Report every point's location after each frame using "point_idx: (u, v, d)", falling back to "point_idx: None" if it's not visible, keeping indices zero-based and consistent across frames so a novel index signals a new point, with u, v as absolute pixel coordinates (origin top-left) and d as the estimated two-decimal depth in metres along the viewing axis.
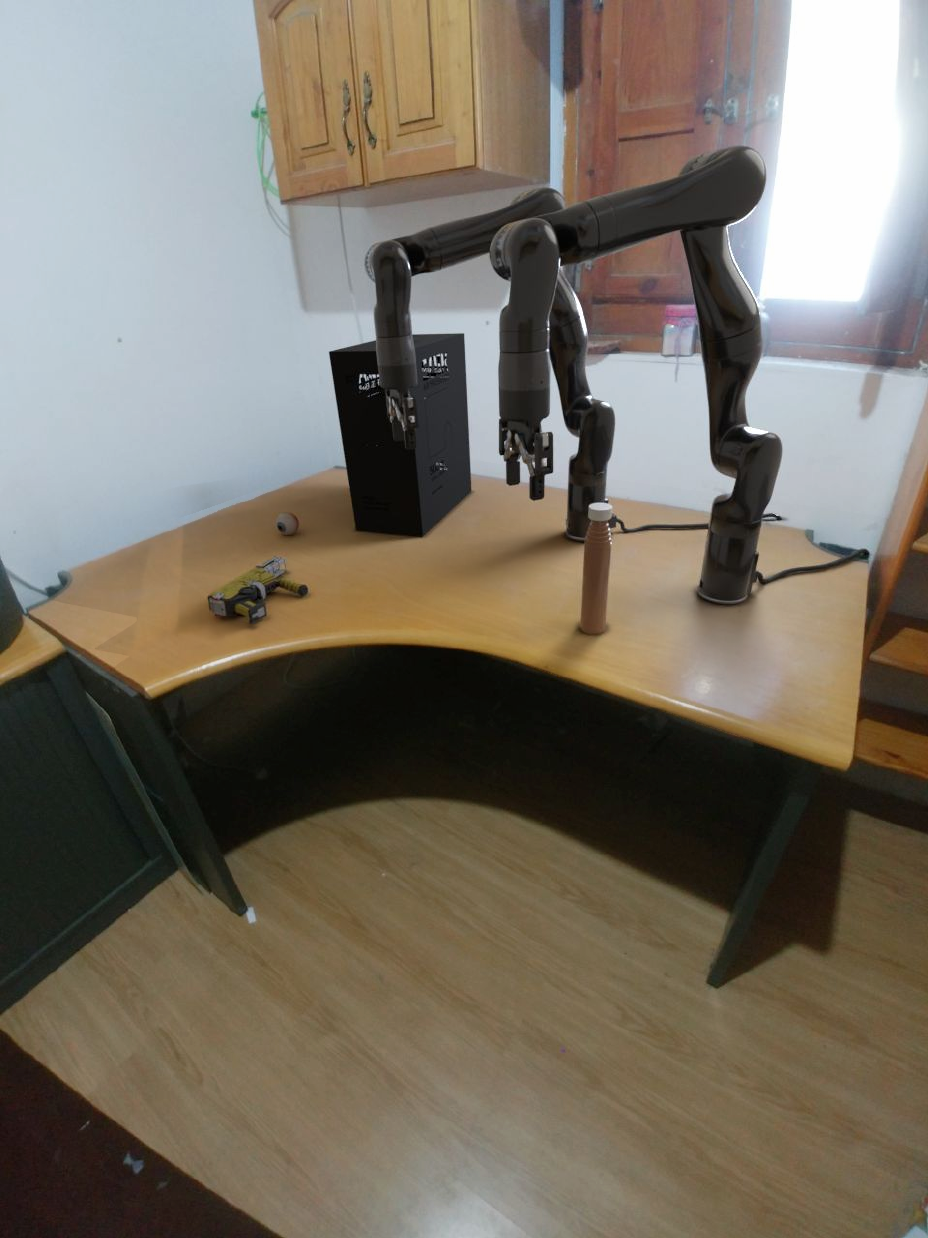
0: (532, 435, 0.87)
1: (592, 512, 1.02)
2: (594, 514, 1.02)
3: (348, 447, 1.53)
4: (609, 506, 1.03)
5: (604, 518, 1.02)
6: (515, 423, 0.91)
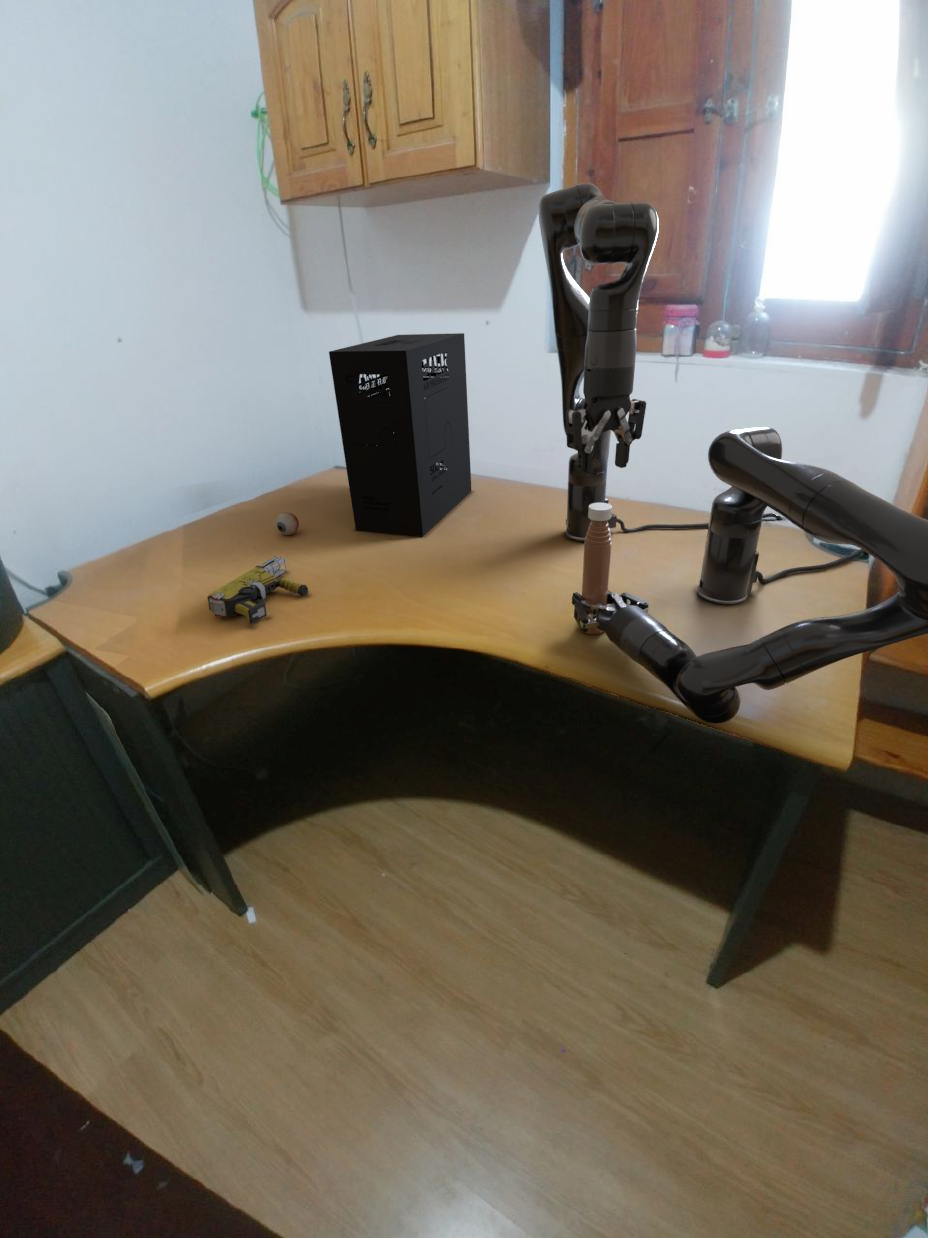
0: (596, 619, 1.04)
1: (592, 512, 1.02)
2: (594, 514, 1.02)
3: (348, 447, 1.53)
4: (609, 506, 1.03)
5: (604, 518, 1.02)
6: None
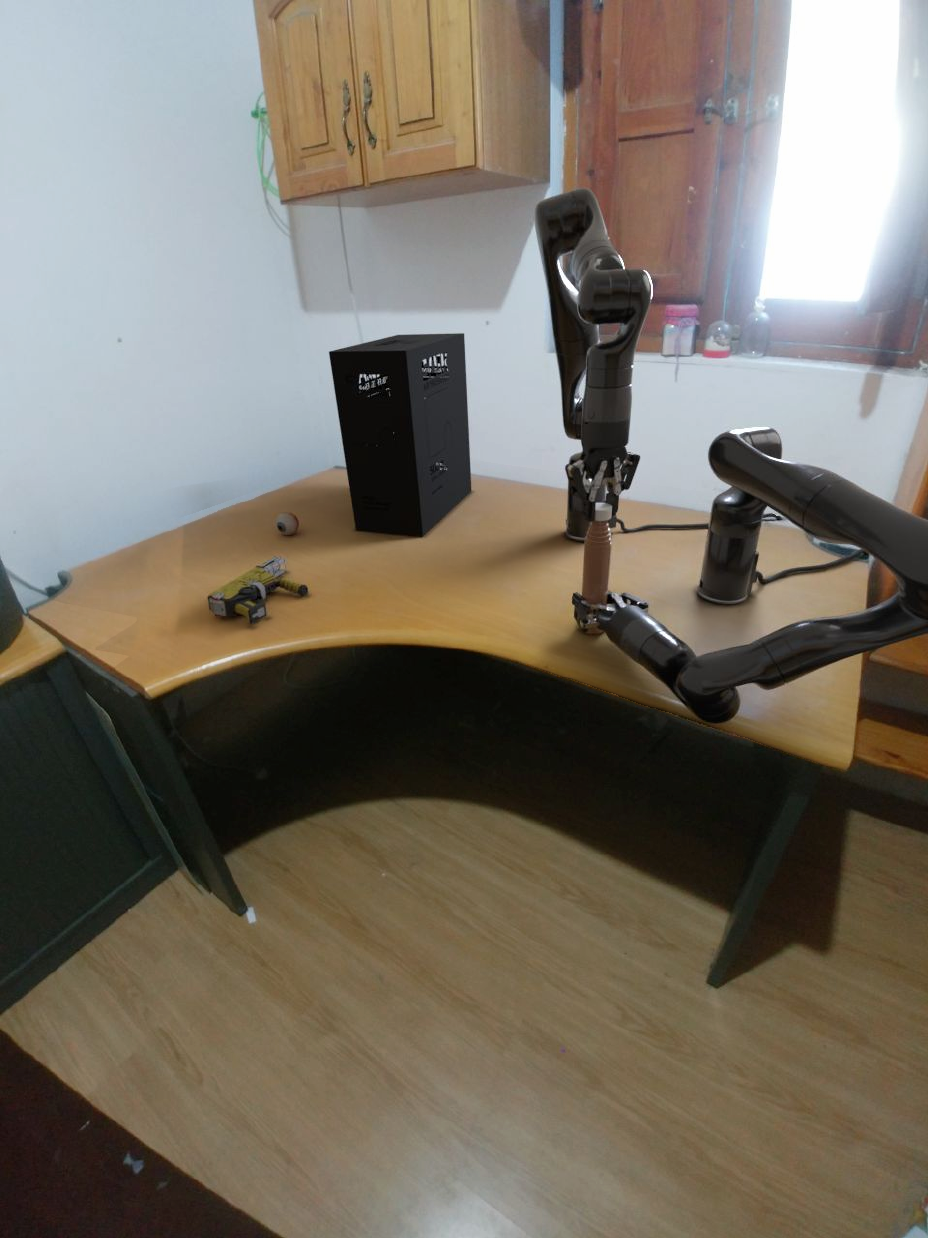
0: (596, 619, 1.04)
1: None
2: None
3: (348, 447, 1.53)
4: (609, 506, 1.03)
5: (604, 518, 1.02)
6: None
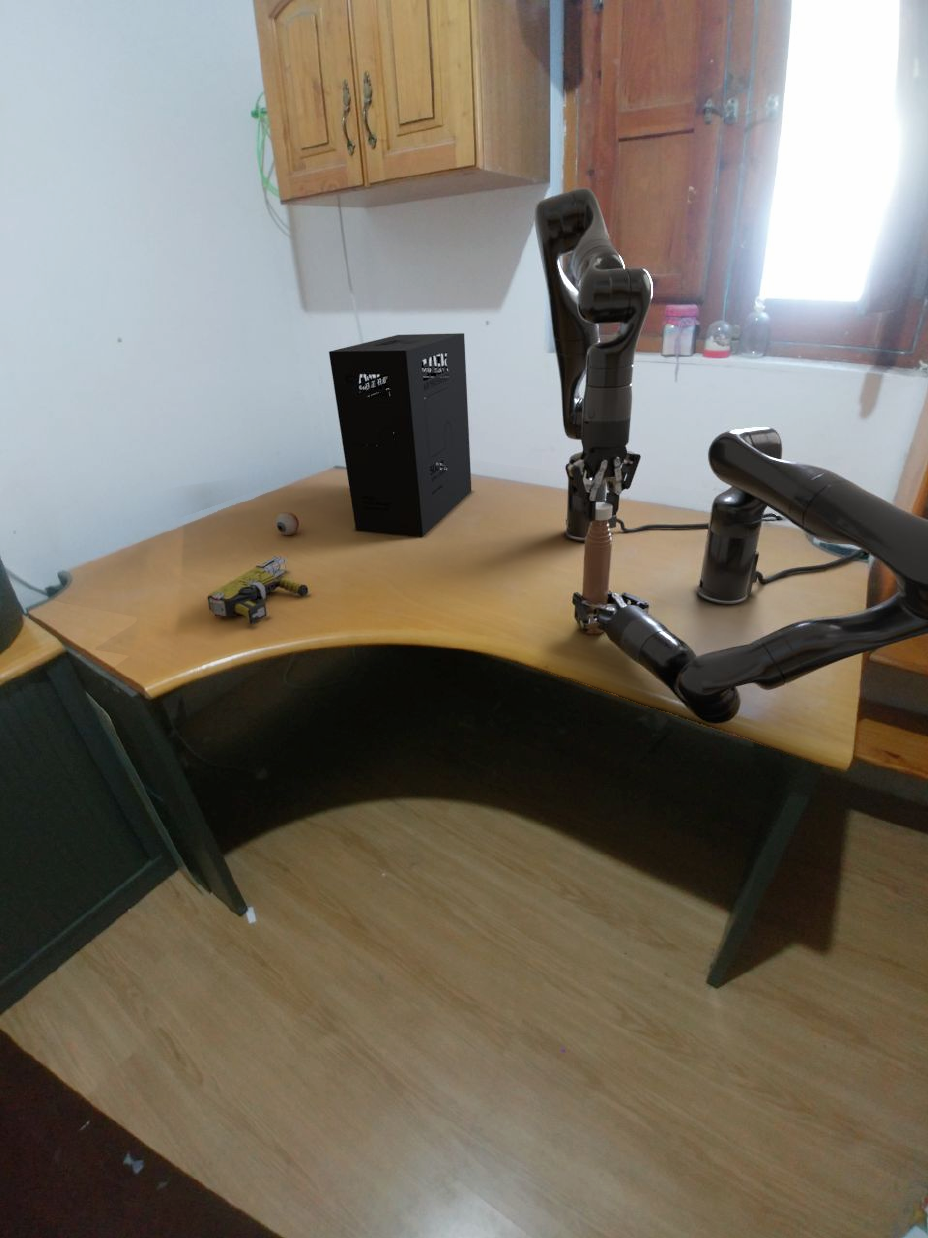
0: (597, 619, 1.04)
1: (606, 512, 1.01)
2: (608, 513, 1.02)
3: (348, 447, 1.53)
4: (603, 503, 1.04)
5: None
6: None
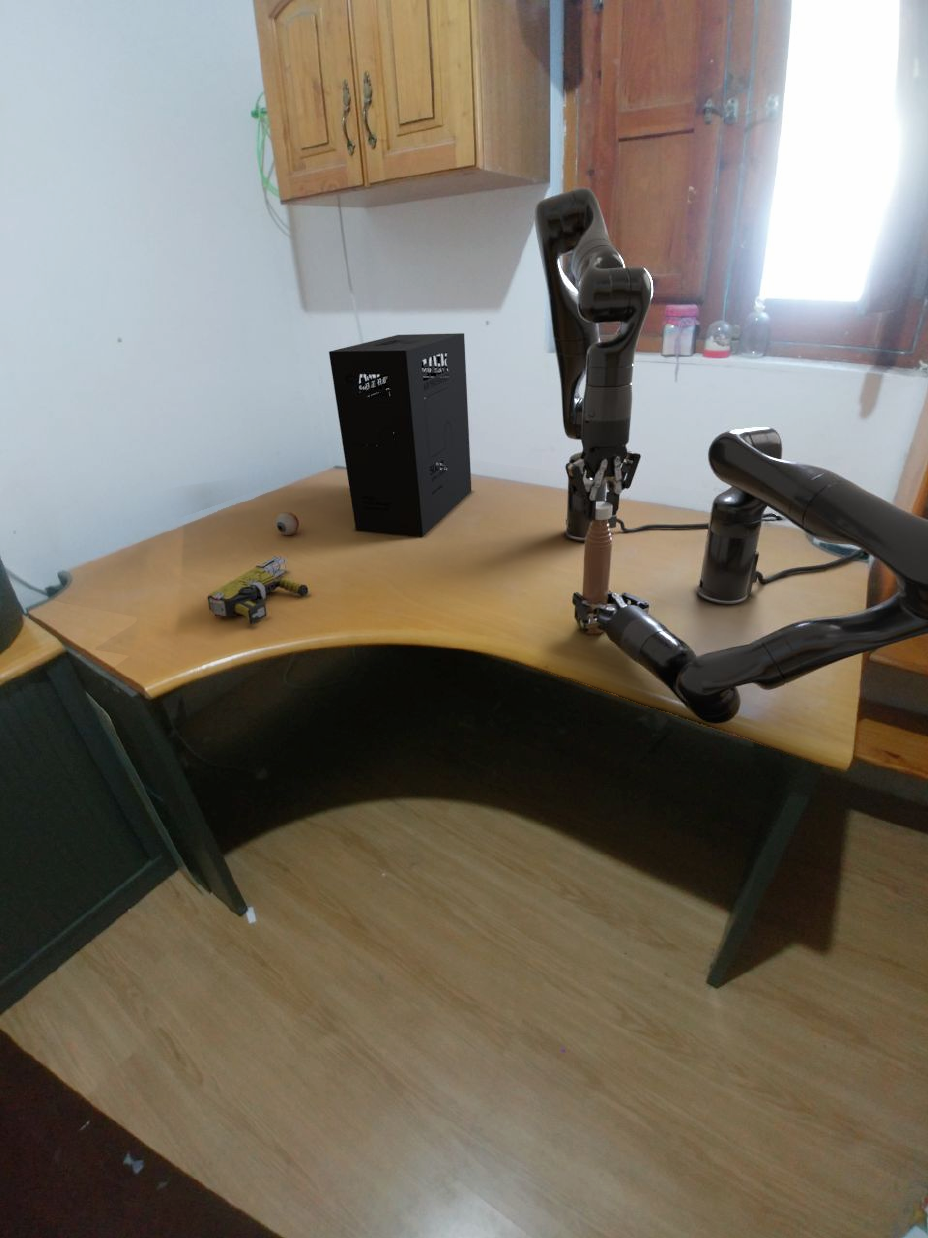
0: (597, 619, 1.04)
1: None
2: None
3: (348, 447, 1.53)
4: None
5: None
6: None
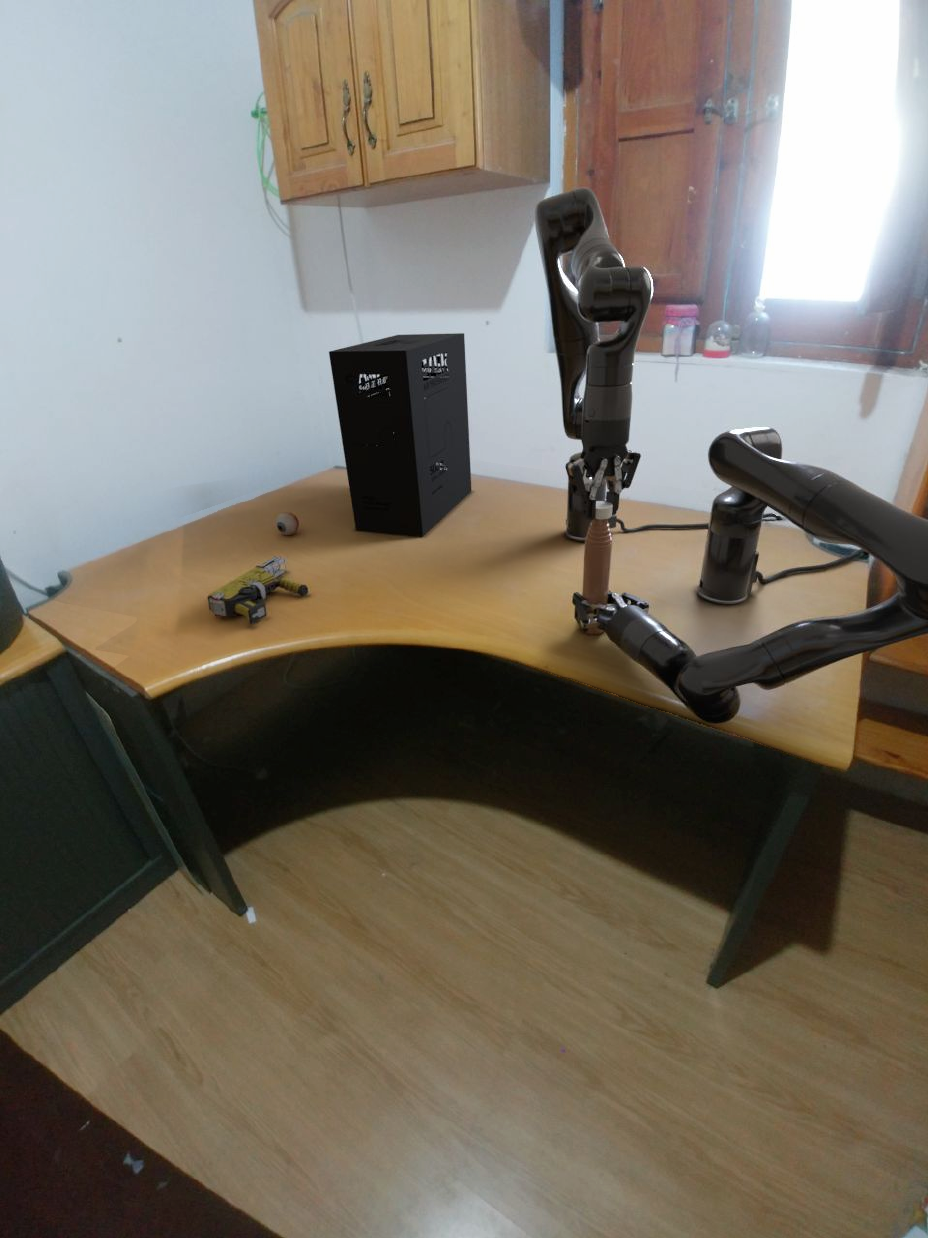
0: (597, 619, 1.04)
1: None
2: None
3: (348, 447, 1.53)
4: None
5: None
6: None
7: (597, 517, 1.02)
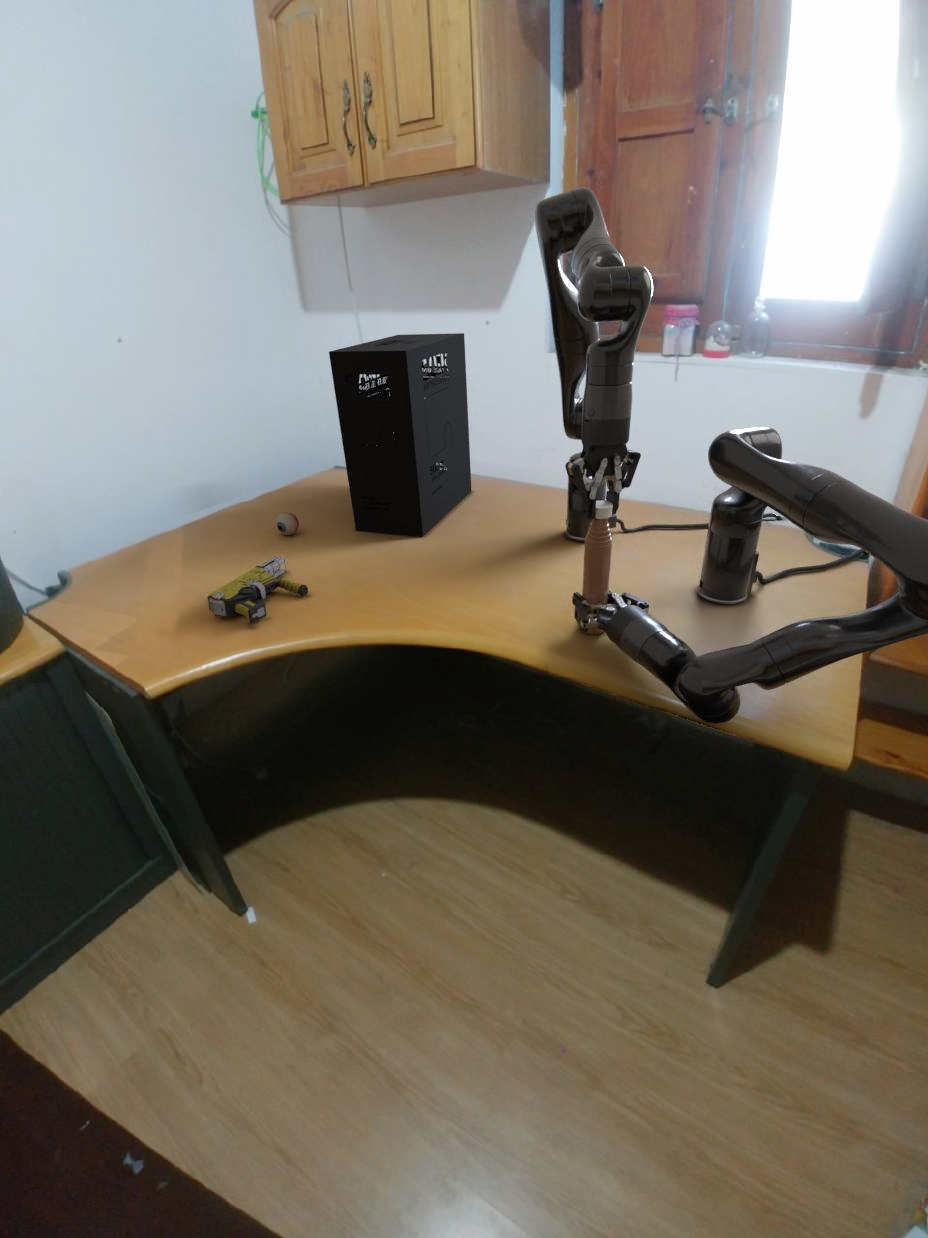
0: (597, 619, 1.04)
1: None
2: None
3: (348, 447, 1.53)
4: (603, 507, 1.01)
5: None
6: None
7: (610, 515, 1.02)
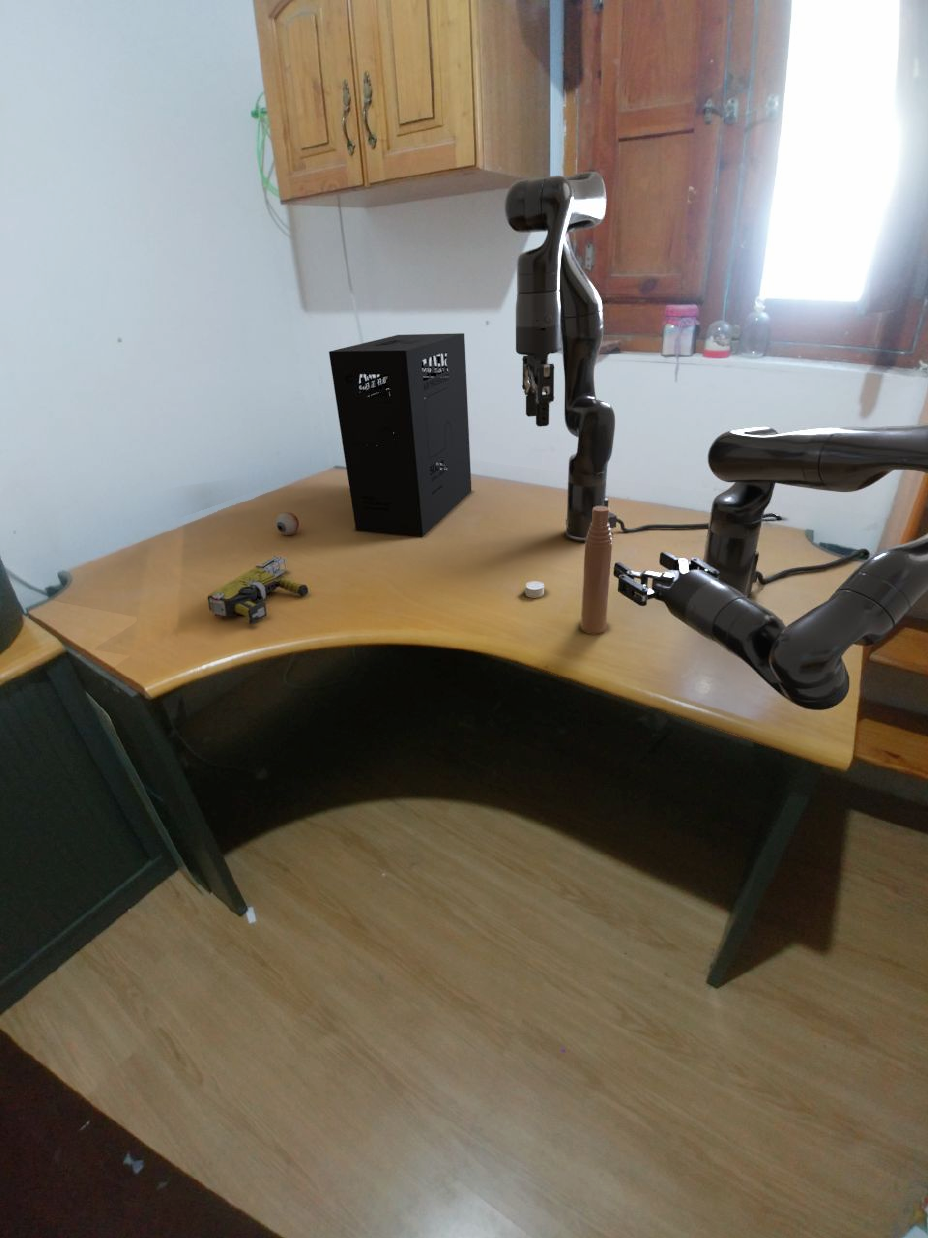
0: (655, 588, 0.86)
1: (537, 591, 1.26)
2: (539, 592, 1.26)
3: (348, 447, 1.53)
4: (538, 582, 1.28)
5: None
6: None
7: None
